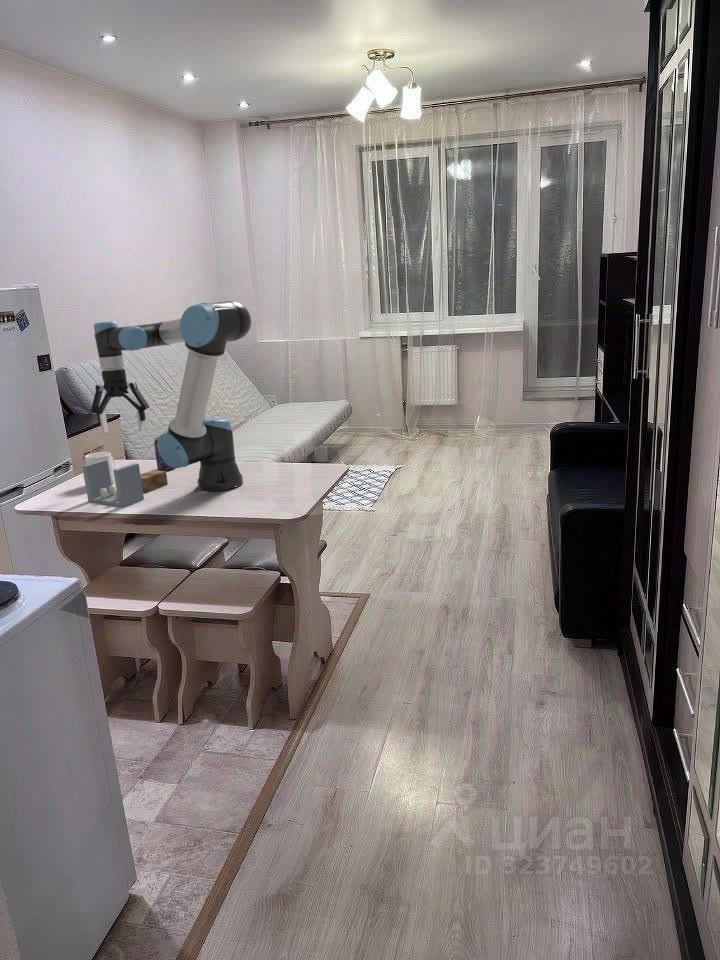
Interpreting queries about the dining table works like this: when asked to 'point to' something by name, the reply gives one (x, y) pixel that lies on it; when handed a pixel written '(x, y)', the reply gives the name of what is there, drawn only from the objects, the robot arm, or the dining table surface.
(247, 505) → the dining table surface
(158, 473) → the brown wooden block
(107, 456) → the mug
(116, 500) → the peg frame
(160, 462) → the beverage can
